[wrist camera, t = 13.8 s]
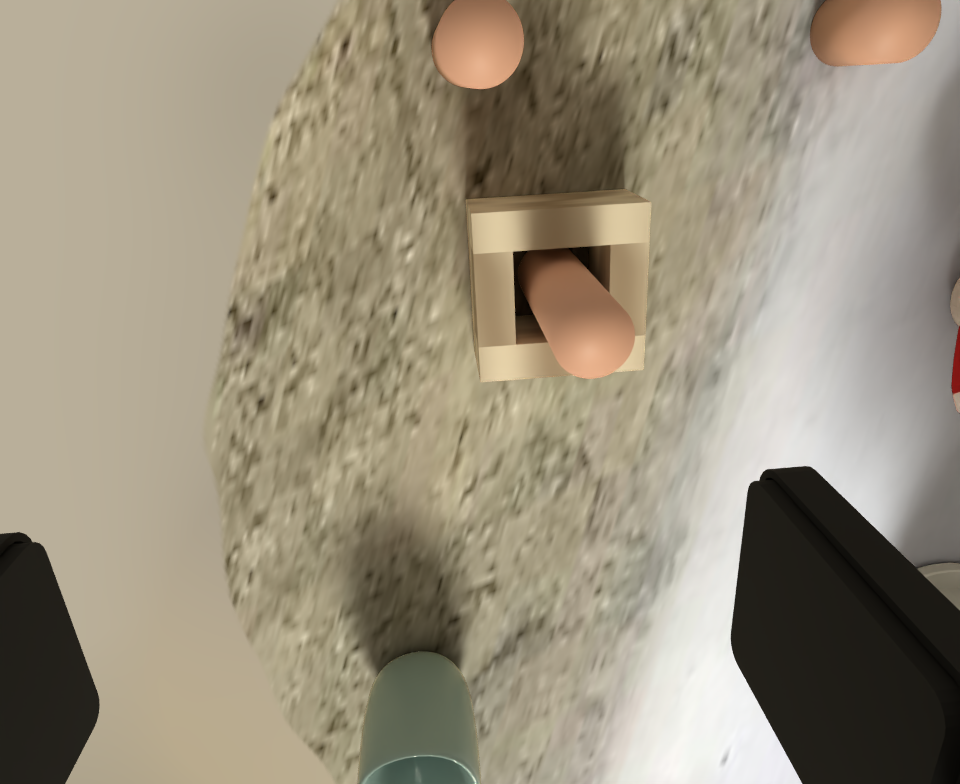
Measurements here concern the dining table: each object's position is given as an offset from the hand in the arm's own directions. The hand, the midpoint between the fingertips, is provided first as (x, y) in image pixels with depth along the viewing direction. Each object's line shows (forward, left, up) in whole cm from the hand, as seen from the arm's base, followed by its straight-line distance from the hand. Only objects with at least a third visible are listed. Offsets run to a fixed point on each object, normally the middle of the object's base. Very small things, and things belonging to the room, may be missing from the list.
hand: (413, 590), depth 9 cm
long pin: (-7, +4, -32) cm, 33 cm away
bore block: (-7, +4, -32) cm, 33 cm away
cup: (+3, +34, -32) cm, 47 cm away
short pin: (-23, -8, -32) cm, 40 cm away
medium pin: (-3, -8, -32) cm, 33 cm away
